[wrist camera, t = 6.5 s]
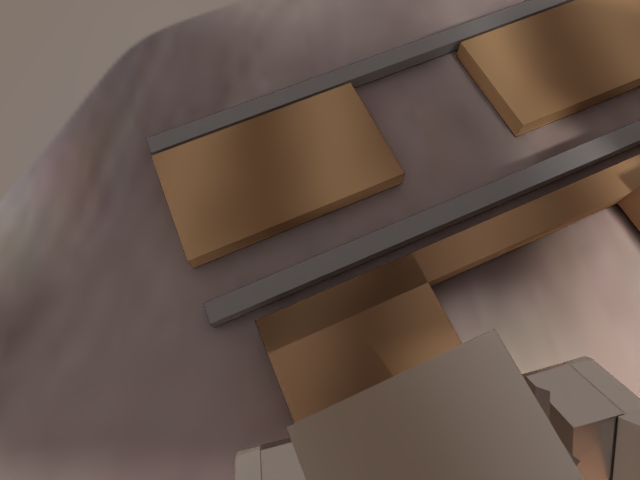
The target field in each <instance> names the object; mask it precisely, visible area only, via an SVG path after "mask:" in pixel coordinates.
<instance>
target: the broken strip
mask: <svg viewBox="0 0 640 480" xmlns="http://www.w3.org/2000/svg"><path fill="white" fill-rule="evenodd" d="M456 56H457V58H458V59H459V60H460V62H461V63H462V64H463V66H464V67H465V68H466V70H467V71H468V73H469V74H470V75H471V77H472V78H473V79H474V81H475V82H476V83H477V85H478V86H479V87H480V89H481V90H482V92H483V93H484V94H485V96H486V97H487V98H488V100H489V101H490V102H491V104H492V105H493V106H494V108H495V109H496V111H497V112H498V113H499V115H500V116H501V117H502V119H503V120H504V121H505V123H506V124H507V126H508V127H509V128H510V130H511V131H512V132H513V134H514V135H515V136H519V135H521V134H524V133H526V132H529V131H531V130H534V129H536V128H538V127H541V126H543V125H546V124H548V123H551V122H553V121H556V120H558V119H561V118H563V117H565V116H568V115H570V114H573V113H575V112H578V111H580V110H583V109H585V108H588V107H590V106H592V105H595V104H597V103H600V102H602V101H605V100H607V99H610V98H612V97H615V96H617V95H619V94H622V93H624V92H627V91H629V90H632V89H634V88H637V87H639V86H640V0H574V1H572V2H569V3H566V4H564V5H561V6H558V7H555V8H553V9H550V10H547V11H545V12H542V13H539V14H536V15H534V16H531V17H528V18H525V19H523V20H520V21H517V22H515V23H512V24H509V25H506V26H504V27H501V28H498V29H495V30H493V31H490V32H487V33H485V34H482V35H479V36H476V37H474V38H471V39H468V40H465V41H463V42H461V43H460V46H459V49H458V52H457V55H456ZM151 157H152V160H153V163H154V166H155V168H156V171H157V174H158V177H159V180H160V183H161V186H162V189H163V192H164V195H165V197H166V200H167V203H168V206H169V209H170V212H171V215H172V218H173V221H174V223H175V226H176V229H177V232H178V235H179V238H180V241H181V244H182V247H183V250H184V252H185V255H186V258H187V261H188V262H189V263H190V264H191V266H192V267H193V268H195V267H197V266H200V265H202V264H205V263H207V262H210V261H212V260H215V259H217V258H219V257H222V256H224V255H227V254H229V253H232V252H234V251H237V250H239V249H242V248H244V247H246V246H249V245H251V244H254V243H256V242H259V241H261V240H264V239H266V238H269V237H271V236H273V235H276V234H278V233H281V232H283V231H286V230H288V229H291V228H293V227H296V226H298V225H300V224H303V223H305V222H308V221H310V220H313V219H315V218H318V217H320V216H322V215H325V214H327V213H330V212H332V211H335V210H337V209H340V208H342V207H345V206H347V205H349V204H352V203H354V202H357V201H359V200H362V199H364V198H367V197H369V196H372V195H374V194H376V193H379V192H381V191H384V190H386V189H389V188H391V187H394V186H396V185H399V184H401V183H402V180H403V177H404V174H405V173H404V171H403V170H402V168H401V166H400V165H399V163H398V161H397V160H396V158H395V156H394V155H393V153H392V151H391V149H390V148H389V146H388V144H387V143H386V141H385V139H384V138H383V136H382V134H381V133H380V131H379V129H378V128H377V126H376V124H375V123H374V121H373V119H372V118H371V116H370V114H369V113H368V111H367V109H366V108H365V106H364V104H363V103H362V101H361V99H360V97H359V96H358V94H357V92H356V91H355V89H354V87H353V86H352V84H351V83H348V84H346V85H343V86H340V87H337V88H335V89H332V90H329V91H326V92H324V93H321V94H318V95H316V96H313V97H310V98H307V99H305V100H302V101H299V102H296V103H294V104H291V105H288V106H286V107H283V108H280V109H277V110H275V111H272V112H269V113H267V114H264V115H261V116H258V117H256V118H253V119H250V120H247V121H245V122H242V123H239V124H237V125H234V126H231V127H228V128H226V129H223V130H220V131H217V132H215V133H212V134H209V135H207V136H204V137H201V138H198V139H196V140H193V141H190V142H187V143H185V144H182V145H179V146H177V147H174V148H171V149H168V150H166V151H163V152H160V153H157V154H155V155H152V156H151Z"/></svg>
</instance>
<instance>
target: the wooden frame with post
mask: <svg viewBox="0 0 640 480" xmlns="http://www.w3.org/2000/svg"><path fill="white" fill-rule="evenodd" d="M617 203H618V205H619V206H620V207H621V208H622V210H623V211H624V212H625V214H626V215H627V216H628V217H629V219H630V220H631V221H632V222H633V224H634V225H635V226H636V228H637V229H638V230H639V231H640V154H639V155H637V156H634V157H632V158H630V159H627V160H625V161H623V162H621V163H618V164H616V165H614V166H611V167H609V168H607V169H604V170H602V171H600V172H597V173H595V174H593V175H591V176H588V177H586V178H584V179H581V180H579V181H577V182H574V183H572V184H570V185H567V186H565V187H563V188H560V189H558V190H556V191H554V192H551V193H549V194H547V195H544V196H542V197H540V198H537V199H535V200H533V201H530V202H528V203H526V204H523V205H521V206H519V207H517V208H514V209H512V210H510V211H507V212H505V213H503V214H500V215H498V216H496V217H493V218H491V219H489V220H487V221H484V222H482V223H480V224H477V225H475V226H473V227H470V228H468V229H466V230H463V231H461V232H459V233H456V234H454V235H452V236H450V237H447V238H445V239H443V240H440V241H438V242H436V243H433V244H431V245H429V246H426V247H424V248H422V249H419V250H417V251H415V252H413V253H410V254H408V255H406V256H403V257H401V258H399V259H396V260H394V261H392V262H389V263H387V264H385V265H383V266H380V267H378V268H376V269H373V270H371V271H369V272H366V273H364V274H362V275H359V276H357V277H355V278H352V279H350V280H348V281H346V282H343V283H341V284H339V285H336V286H334V287H332V288H329V289H327V290H325V291H322V292H320V293H318V294H315V295H313V296H311V297H309V298H306V299H304V300H302V301H299V302H297V303H295V304H292V305H290V306H288V307H285V308H283V309H281V310H278V311H276V312H274V313H272V314H269V315H267V316H265V317H262V318H260V319H258V320H255V323H256V325H257V328H258V330H259V333H260V336H261V338H262V341H263V343H264V346H265V348H266V351H267V354H268V356H269V359H270V361H271V364H272V367H273V369H274V372H275V374H276V377H277V380H278V382H279V385H280V387H281V390H282V392H283V395H284V398H285V400H286V403H287V405H288V408H289V411H290V413H291V416H292V418H293V421H294V424H292V425H290V426H287V427H286V428H287V431H288V434H289V436H290V439H291V441H292V444H293V447H294V449H295V452H296V455H297V457H298V460H299V463H300V465H301V468H302V470H303V473H304V476H305V478H306V480H584V479H583V477H582V475H581V473H580V472H579V470H578V468H577V467H576V465H575V463H574V462H573V460H572V458H571V457H570V455H569V453H568V452H567V450H566V448H565V447H564V445H563V443H562V441H561V440H560V438H559V436H558V435H557V433H556V431H555V430H554V428H553V426H552V425H551V423H550V421H549V420H548V418H547V416H546V415H545V413H544V411H543V409H542V408H541V406H540V404H539V403H538V401H537V399H536V398H535V396H534V394H533V393H532V391H531V389H530V388H529V386H528V384H527V383H526V381H525V379H524V377H523V376H522V374H521V372H520V371H519V369H518V367H517V366H516V364H515V362H514V361H513V359H512V357H511V356H510V354H509V352H508V351H507V349H506V347H505V345H504V344H503V342H502V340H501V339H500V337H499V335H498V334H497V332H496V330H495V329H493V330H491V331H489V332H487V333H484V334H482V335H480V336H478V337H476V338H474V339H472V340H470V341H468V342H465V343H463V344H462V342H461V340H460V339H459V337H458V335H457V333H456V331H455V330H454V328H453V326H452V324H451V322H450V321H449V319H448V317H447V315H446V313H445V312H444V310H443V308H442V306H441V304H440V303H439V301H438V299H437V297H436V296H435V294H434V292H433V290H432V288H431V286H433V285H436V284H438V283H440V282H442V281H444V280H447V279H449V278H451V277H453V276H456V275H458V274H460V273H462V272H465V271H467V270H469V269H471V268H474V267H476V266H478V265H480V264H482V263H485V262H487V261H489V260H491V259H494V258H496V257H498V256H500V255H503V254H505V253H507V252H509V251H512V250H514V249H516V248H518V247H521V246H523V245H525V244H527V243H529V242H532V241H534V240H536V239H538V238H541V237H543V236H545V235H547V234H550V233H552V232H554V231H556V230H559V229H561V228H563V227H565V226H567V225H570V224H572V223H574V222H576V221H579V220H581V219H583V218H585V217H588V216H590V215H592V214H594V213H597V212H599V211H601V210H603V209H606V208H608V207H610V206H612V205H614V204H617Z"/></svg>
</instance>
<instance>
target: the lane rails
mask: <svg viewBox="0 0 640 480" xmlns="http://www.w3.org/2000/svg"><path fill="white" fill-rule="evenodd" d="M572 1H574V0H528V1H525V2H522V3H519V4H517V5H514V6H511V7H508V8H505V9H503V10H500V11H497V12H494V13H492V14H489V15H486V16H483V17H481V18H478V19H475V20H472V21H469V22H467V23H464V24H461V25H458V26H456V27H453V28H450V29H447V30H445V31H442V32H439V33H436V34H433V35H431V36H428V37H425V38H422V39H420V40H417V41H414V42H411V43H408V44H406V45H403V46H400V47H397V48H395V49H392V50H389V51H386V52H384V53H381V54H378V55H375V56H372V57H370V58H367V59H364V60H361V61H359V62H356V63H353V64H350V65H348V66H345V67H342V68H339V69H336V70H334V71H331V72H328V73H325V74H323V75H320V76H317V77H314V78H311V79H309V80H306V81H303V82H300V83H298V84H295V85H292V86H289V87H287V88H284V89H281V90H278V91H275V92H273V93H270V94H267V95H264V96H262V97H259V98H256V99H253V100H250V101H248V102H245V103H242V104H239V105H237V106H234V107H231V108H228V109H226V110H223V111H220V112H217V113H214V114H212V115H209V116H206V117H203V118H201V119H198V120H195V121H192V122H190V123H187V124H184V125H181V126H178V127H176V128H173V129H170V130H167V131H165V132H162V133H159V134H156V135H153V136H151V137H148V138H146V140H147V143H148V146H149V149H150V151H151V154H152V155H155V154H157V153H160V152H163V151H166V150H168V149H171V148H174V147H177V146H179V145H182V144H185V143H187V142H190V141H193V140H196V139H198V138H201V137H204V136H207V135H209V134H212V133H215V132H217V131H220V130H223V129H226V128H228V127H231V126H234V125H237V124H239V123H242V122H245V121H247V120H250V119H253V118H256V117H258V116H261V115H264V114H267V113H269V112H272V111H275V110H277V109H280V108H283V107H286V106H288V105H291V104H294V103H296V102H299V101H302V100H305V99H307V98H310V97H313V96H316V95H318V94H321V93H324V92H326V91H329V90H332V89H335V88H337V87H340V86H343V85H346V84H348V83H351V84H352V86H353V87H354V88H355V87H357V86H360V85H363V84H366V83H368V82H371V81H374V80H376V79H379V78H382V77H385V76H387V75H390V74H393V73H395V72H398V71H401V70H404V69H406V68H409V67H412V66H414V65H417V64H420V63H423V62H425V61H428V60H431V59H433V58H436V57H439V56H441V55H444V54H447V53H450V52H452V51H455V50H458V49H459V46H460V43H461V42H463V41H465V40H468V39H471V38H474V37H476V36H479V35H482V34H485V33H487V32H490V31H493V30H495V29H498V28H501V27H504V26H506V25H509V24H512V23H515V22H517V21H520V20H523V19H525V18H528V17H531V16H534V15H536V14H539V13H542V12H545V11H547V10H550V9H553V8H555V7H558V6H561V5H564V4H566V3H569V2H572ZM638 145H640V120H639V121H637V122H634V123H632V124H629V125H627V126H625V127H622V128H620V129H618V130H615V131H613V132H610V133H608V134H606V135H603V136H601V137H598V138H596V139H594V140H591V141H589V142H587V143H584V144H582V145H579V146H577V147H575V148H572V149H570V150H568V151H565V152H563V153H560V154H558V155H556V156H553V157H551V158H549V159H546V160H544V161H541V162H539V163H537V164H534V165H532V166H529V167H527V168H525V169H522V170H520V171H518V172H515V173H513V174H510V175H508V176H506V177H503V178H501V179H499V180H496V181H494V182H491V183H489V184H487V185H484V186H482V187H479V188H477V189H475V190H472V191H470V192H468V193H465V194H463V195H460V196H458V197H456V198H453V199H451V200H449V201H446V202H444V203H441V204H439V205H437V206H434V207H432V208H429V209H427V210H425V211H422V212H420V213H418V214H415V215H413V216H410V217H408V218H406V219H403V220H401V221H399V222H396V223H394V224H391V225H389V226H387V227H384V228H382V229H379V230H377V231H375V232H372V233H370V234H368V235H365V236H363V237H360V238H358V239H356V240H353V241H351V242H349V243H346V244H344V245H341V246H339V247H337V248H334V249H332V250H329V251H327V252H325V253H322V254H320V255H318V256H315V257H313V258H310V259H308V260H306V261H303V262H301V263H299V264H296V265H294V266H291V267H289V268H287V269H284V270H282V271H280V272H277V273H275V274H272V275H270V276H268V277H265V278H263V279H260V280H258V281H256V282H253V283H251V284H249V285H246V286H244V287H241V288H239V289H237V290H234V291H232V292H230V293H227V294H225V295H222V296H220V297H218V298H215V299H213V300H210V301H208V302H206V303H203V305H204V307H205V310H206V313H207V316H208V319H209V322H210V324H211V325H212V326H213V327H216V326H218V325H221V324H223V323H225V322H228V321H230V320H232V319H235V318H237V317H239V316H242V315H244V314H246V313H249V312H251V311H253V310H256V309H258V308H260V307H263V306H265V305H267V304H270V303H272V302H274V301H277V300H279V299H281V298H284V297H286V296H288V295H291V294H293V293H295V292H298V291H300V290H302V289H305V288H307V287H309V286H312V285H314V284H316V283H319V282H321V281H323V280H326V279H328V278H330V277H333V276H335V275H337V274H340V273H342V272H344V271H347V270H349V269H351V268H354V267H356V266H358V265H360V264H363V263H365V262H367V261H370V260H372V259H374V258H377V257H379V256H381V255H384V254H386V253H388V252H391V251H393V250H395V249H398V248H400V247H402V246H405V245H407V244H409V243H412V242H414V241H416V240H419V239H421V238H423V237H426V236H428V235H430V234H433V233H435V232H437V231H440V230H442V229H444V228H447V227H449V226H451V225H454V224H456V223H458V222H461V221H463V220H465V219H468V218H470V217H472V216H475V215H477V214H479V213H482V212H484V211H486V210H489V209H491V208H493V207H496V206H498V205H500V204H503V203H505V202H507V201H510V200H512V199H514V198H517V197H519V196H521V195H524V194H526V193H528V192H531V191H533V190H535V189H538V188H540V187H542V186H545V185H547V184H549V183H552V182H554V181H556V180H559V179H561V178H563V177H566V176H568V175H570V174H573V173H575V172H577V171H580V170H582V169H584V168H587V167H589V166H591V165H594V164H596V163H598V162H601V161H603V160H605V159H607V158H610V157H612V156H614V155H617V154H619V153H621V152H624V151H626V150H628V149H631V148H633V147H635V146H638Z"/></svg>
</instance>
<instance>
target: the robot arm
mask: <svg viewBox="0 0 640 480" xmlns="http://www.w3.org/2000/svg"><path fill="white" fill-rule="evenodd" d="M522 376H523V377H524V379H525V381H526V383H527V384H528V386H529V388H530V389H531V391H532V393H533V394H534V396H535V398H536V399H537V401H538V403H539V404H540V406H541V408H542V409H543V411H544V413H545V415H546V416H547V418H548V420H549V421H550V423H551V425H552V426H553V428H554V430H555V431H556V433H557V435H558V436H559V438H560V440H561V441H562V443H563V445H564V447H565V448H566V450H567V452H568V453H569V455H570V457H571V458H572V460H573V462H574V463H575V465H576V467H577V468H578V470H579V472H580V473H581V475H582V477H583V479H584V480H640V398H639V397H638V396H636V395H635V394H634V393H633V392H631V391H630V390H629V389H628V388H627V387H625V386H624V385H623V384H622V383H621V382H619V381H618V380H617V379H616V378H615V377H613V376H612V375H611V374H610V373H609V372H607V371H606V370H605V369H604V368H603V367H601V366H600V365H599V364H598V363H596V362H595V361H594V360H593V359H591V358H589V357H586V356H584V357H581V358H577V359H574V360H570V361H567V362H564V363H560V364H556V365H553V366H549V367H546V368H542V369H539V370H535V371H532V372H528V373H525V374H522ZM235 480H306V478H305V476H304V473H303V470H302V468H301V465H300V463H299V460H298V457H297V455H296V452H295V449H294V447H293V444H292V441H291V439H290V438H288V439H284V440H280V441H276V442H272V443H268V444H264V445H261V446H258V447H254V448H250V449H246V450H242V451H237V454H236V457H235Z"/></svg>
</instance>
